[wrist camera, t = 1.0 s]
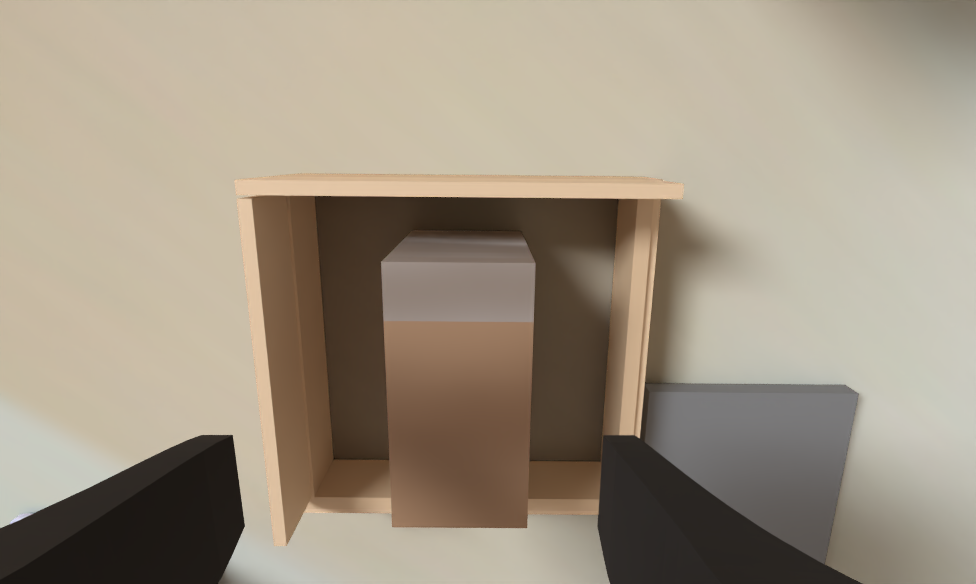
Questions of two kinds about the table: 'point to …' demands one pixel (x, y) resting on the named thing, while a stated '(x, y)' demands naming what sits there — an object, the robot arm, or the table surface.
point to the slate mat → (759, 450)
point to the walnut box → (459, 377)
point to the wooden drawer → (301, 339)
